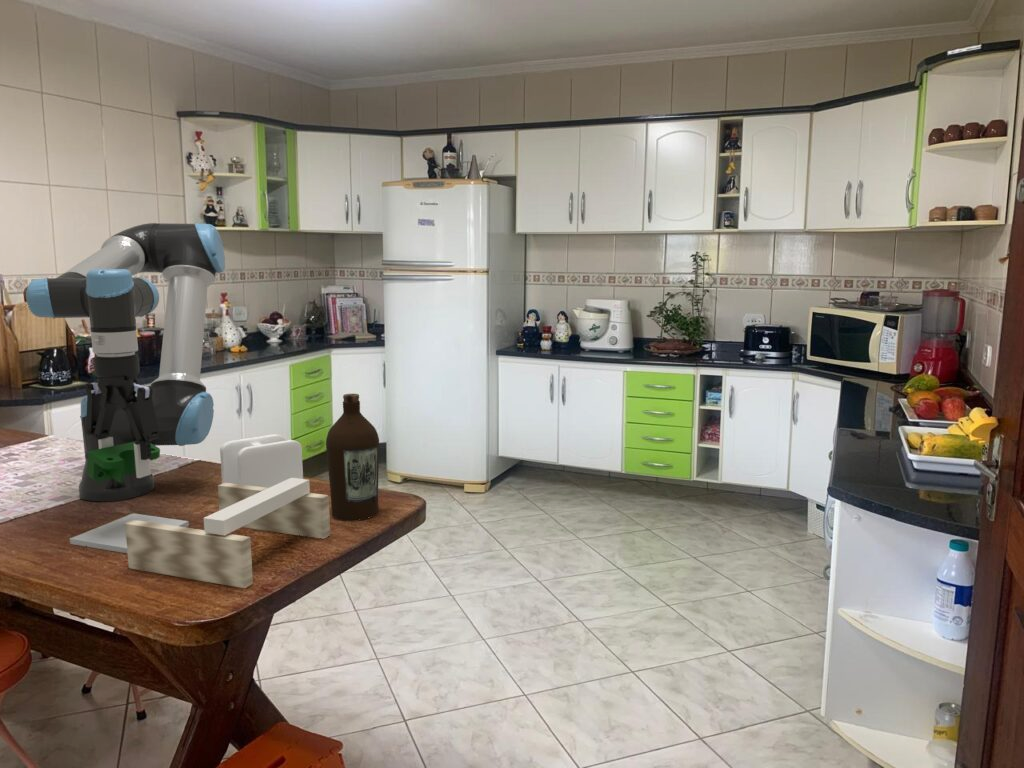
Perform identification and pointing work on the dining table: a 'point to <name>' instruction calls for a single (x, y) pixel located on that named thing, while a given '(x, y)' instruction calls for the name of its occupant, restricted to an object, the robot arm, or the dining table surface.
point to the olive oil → (353, 463)
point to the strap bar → (255, 506)
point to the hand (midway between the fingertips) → (125, 473)
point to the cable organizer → (261, 461)
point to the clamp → (114, 461)
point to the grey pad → (118, 532)
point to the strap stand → (221, 539)
